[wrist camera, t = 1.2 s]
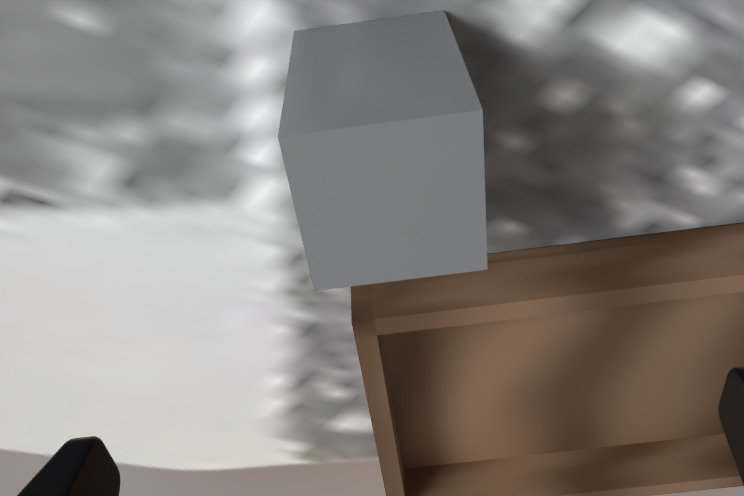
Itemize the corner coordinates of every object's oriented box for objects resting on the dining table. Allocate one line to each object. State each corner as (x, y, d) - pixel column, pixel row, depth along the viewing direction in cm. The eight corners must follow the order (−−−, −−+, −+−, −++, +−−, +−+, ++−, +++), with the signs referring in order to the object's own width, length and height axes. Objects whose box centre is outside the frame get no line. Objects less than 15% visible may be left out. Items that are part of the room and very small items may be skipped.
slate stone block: (444, 10, 18) (483, 109, 13) (452, 144, 20) (487, 269, 15) (294, 31, 18) (278, 136, 13) (320, 161, 20) (314, 290, 16)
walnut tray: (877, 206, 22) (930, 252, 20) (791, 426, 29) (824, 477, 27) (350, 271, 23) (351, 321, 21) (388, 470, 30) (391, 523, 28)
